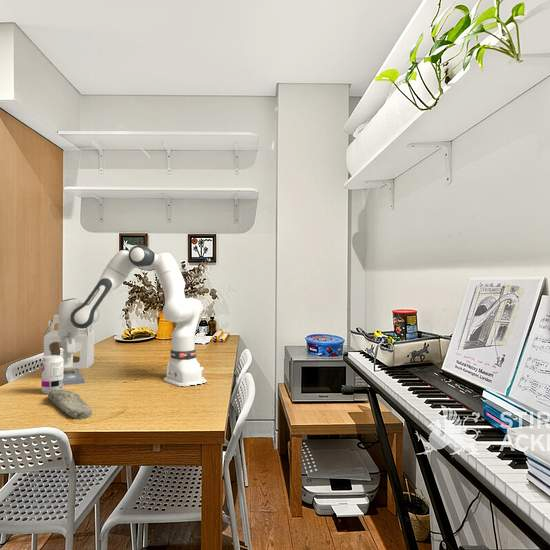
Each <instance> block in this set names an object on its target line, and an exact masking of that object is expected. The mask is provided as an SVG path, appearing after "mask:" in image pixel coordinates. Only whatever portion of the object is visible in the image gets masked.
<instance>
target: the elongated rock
mask: <svg viewBox="0 0 550 550" xmlns="http://www.w3.org/2000/svg"><path fill="white" fill-rule="evenodd" d="M47 395H48V396H47V397H48V399H49V400H50V402H52V405H54V406H56V407H57V408H59V409H60V410H61V411H63V412H64V413H65V414H66V415H67V416H69V417H71V418H73V419H77V420H83V419H84V420H85V419H87V418H88V419H89V418H90V417H92V416H91V415H92V414H93V413H92V408H91V406H90V405H88V403H86V401H85V400H83V399H82V398H81V397H80V396H81V395H80V394H79V393H76V392H73V391H70V390H67V389H63V390H54V391H51V392H49V394H47Z"/></svg>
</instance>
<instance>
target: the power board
mask: <svg viewBox="0 0 550 550" xmlns="http://www.w3.org/2000/svg"><path fill="white" fill-rule="evenodd" d="M75 384H85V377H84V376H83V375H82V373H81V372H80V371H79V369H64V370H63V386H68V385H75Z"/></svg>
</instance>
